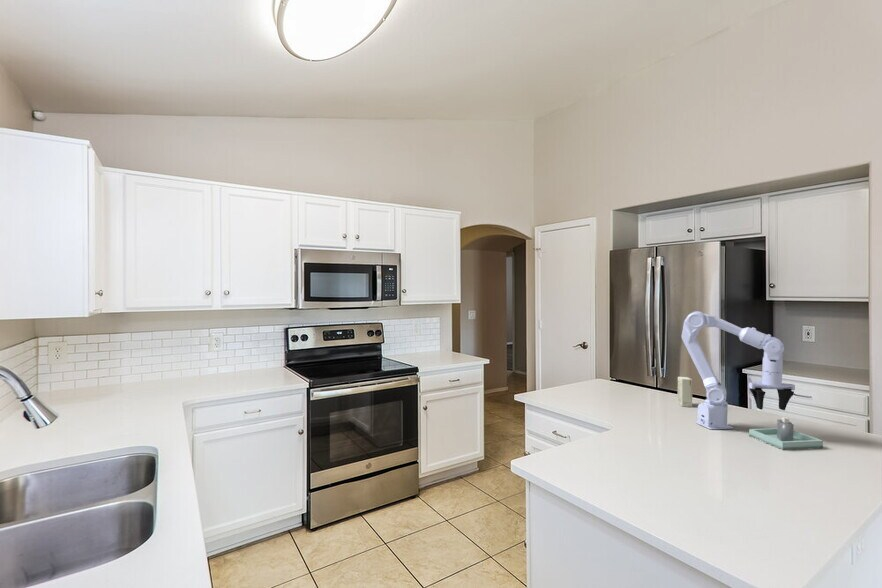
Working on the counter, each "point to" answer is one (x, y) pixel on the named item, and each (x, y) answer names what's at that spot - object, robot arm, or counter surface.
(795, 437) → the sage tray
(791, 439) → the grey rounded piece
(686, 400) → the skincare box
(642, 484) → the counter surface
